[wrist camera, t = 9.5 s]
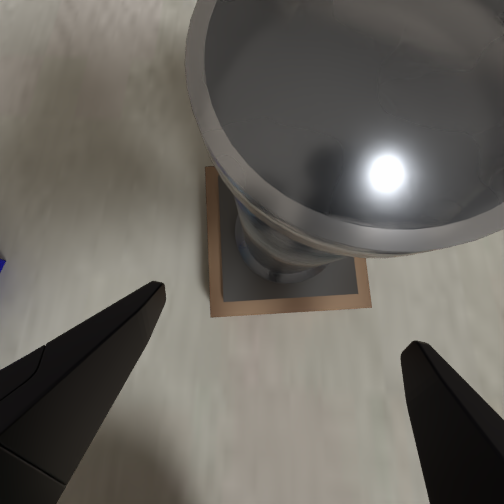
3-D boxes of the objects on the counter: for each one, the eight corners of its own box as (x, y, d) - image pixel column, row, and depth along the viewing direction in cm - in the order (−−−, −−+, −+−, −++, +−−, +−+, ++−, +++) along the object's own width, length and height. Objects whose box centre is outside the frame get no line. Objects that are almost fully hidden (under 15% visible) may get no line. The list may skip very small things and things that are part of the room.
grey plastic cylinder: (262, 300, 16) (288, 363, 3) (220, 212, 17) (102, -29, 4) (352, 256, 16) (723, 144, 3) (306, 172, 17) (457, -173, 4)
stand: (216, 313, 19) (209, 318, 16) (211, 181, 20) (203, 163, 17) (356, 304, 19) (375, 308, 16) (340, 172, 20) (354, 153, 17)
